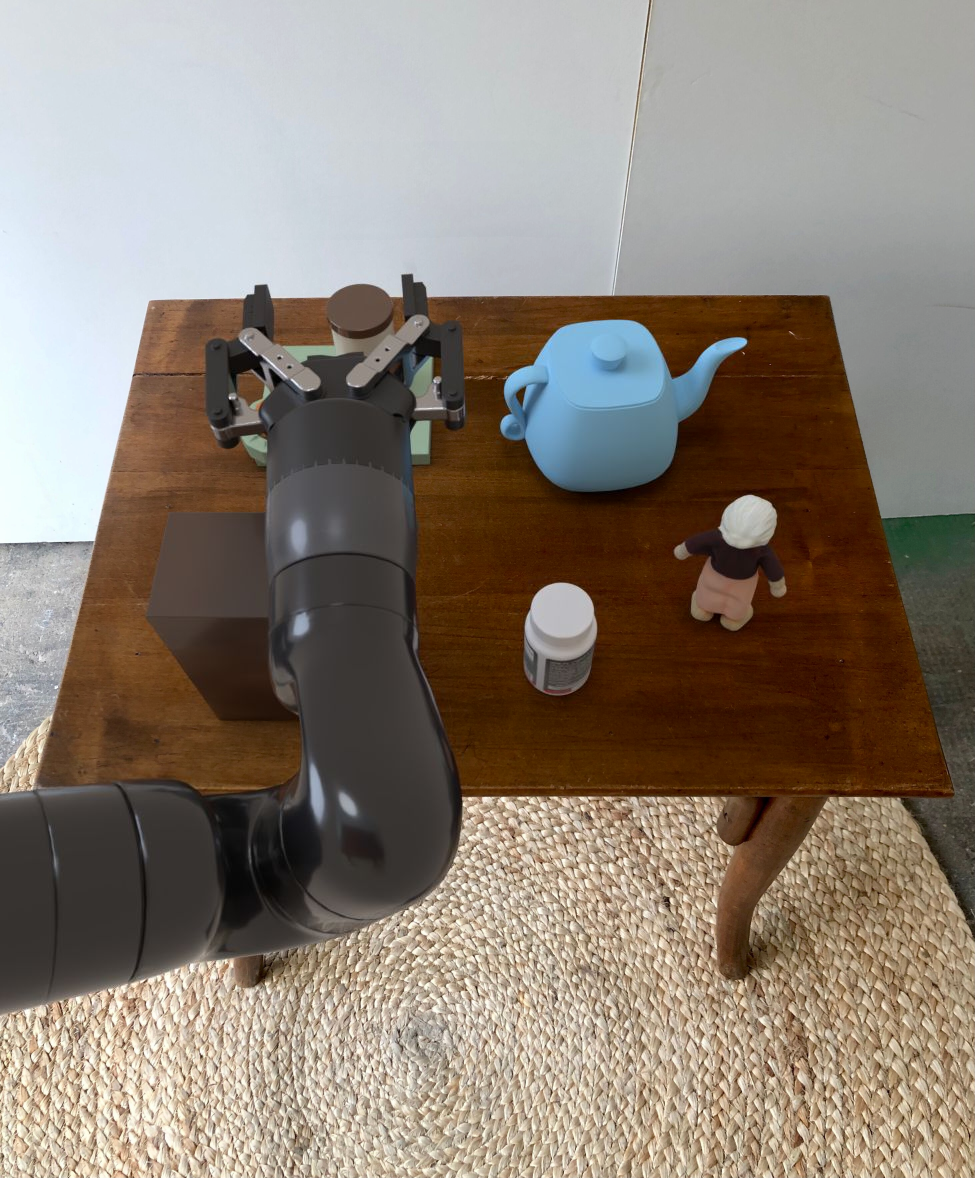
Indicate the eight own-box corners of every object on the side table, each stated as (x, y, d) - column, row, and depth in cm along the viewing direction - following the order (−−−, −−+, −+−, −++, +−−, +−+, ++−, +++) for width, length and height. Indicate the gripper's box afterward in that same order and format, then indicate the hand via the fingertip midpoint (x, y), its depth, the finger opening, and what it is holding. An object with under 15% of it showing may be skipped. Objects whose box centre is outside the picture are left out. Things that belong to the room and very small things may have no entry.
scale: (244, 476, 73) (234, 452, 70) (263, 357, 79) (255, 331, 77) (429, 474, 73) (427, 450, 70) (434, 355, 79) (431, 329, 76)
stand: (218, 720, 62) (144, 616, 49) (234, 630, 66) (168, 511, 53) (320, 721, 62) (272, 617, 49) (330, 630, 66) (288, 511, 53)
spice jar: (331, 393, 75) (311, 309, 67) (372, 358, 77) (358, 273, 69) (375, 422, 74) (360, 340, 66) (416, 386, 75) (406, 302, 68)
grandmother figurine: (768, 594, 67) (820, 492, 56) (764, 640, 65) (817, 544, 54) (663, 575, 68) (695, 471, 57) (657, 619, 66) (688, 520, 55)
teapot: (771, 398, 62) (511, 422, 61) (736, 491, 71) (509, 513, 71) (727, 273, 68) (490, 293, 68) (700, 373, 78) (491, 392, 77)
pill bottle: (602, 656, 64) (615, 598, 57) (569, 709, 62) (577, 656, 55) (544, 625, 66) (550, 564, 58) (510, 675, 64) (511, 619, 56)
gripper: (480, 456, 43) (452, 228, 51) (176, 481, 42) (197, 246, 50) (482, 541, 49) (457, 327, 57) (219, 565, 49) (231, 345, 57)
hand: (336, 290), depth 54 cm, fingers open, 8 cm apart
